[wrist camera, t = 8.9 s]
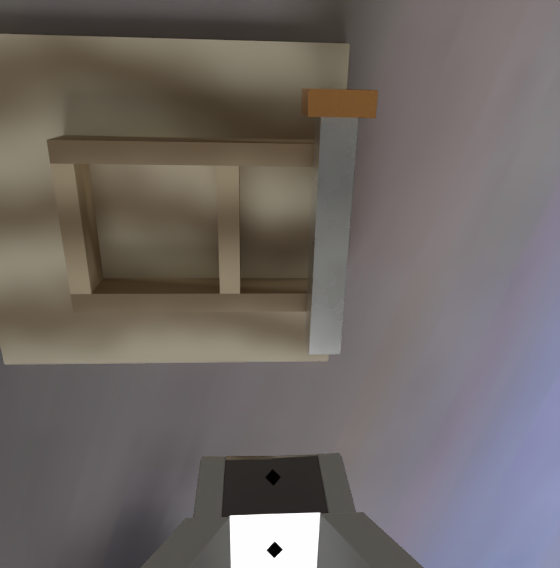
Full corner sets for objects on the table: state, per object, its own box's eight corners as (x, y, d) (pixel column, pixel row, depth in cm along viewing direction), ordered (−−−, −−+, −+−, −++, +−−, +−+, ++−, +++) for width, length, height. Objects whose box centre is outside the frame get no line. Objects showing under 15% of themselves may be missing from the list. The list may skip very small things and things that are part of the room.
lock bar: (343, 332, 31) (353, 358, 28) (293, 332, 30) (297, 359, 28) (363, 89, 25) (378, 90, 22) (301, 88, 25) (308, 88, 22)
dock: (326, 353, 35) (334, 381, 32) (11, 356, 34) (-15, 385, 30) (347, 44, 27) (360, 39, 24) (-59, 33, 26) (-103, 26, 23)
